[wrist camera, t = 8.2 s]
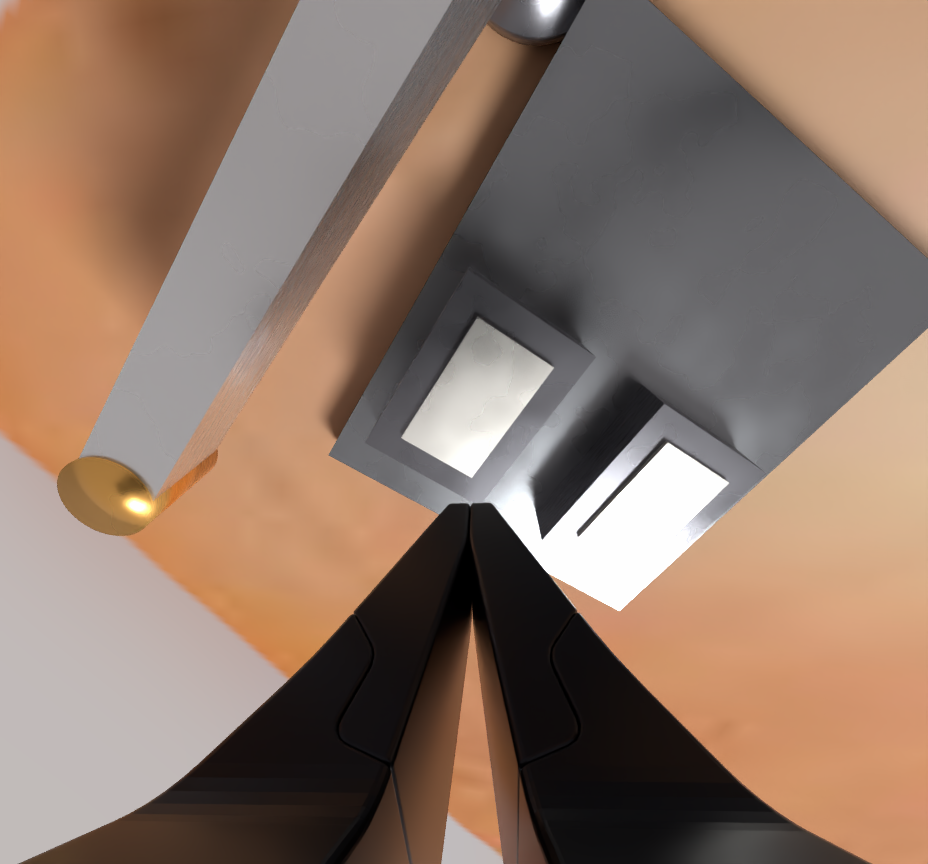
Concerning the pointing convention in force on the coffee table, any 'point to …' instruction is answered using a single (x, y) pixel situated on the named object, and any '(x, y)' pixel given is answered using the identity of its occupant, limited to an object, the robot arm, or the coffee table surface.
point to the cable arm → (266, 240)
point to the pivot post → (534, 20)
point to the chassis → (634, 312)
